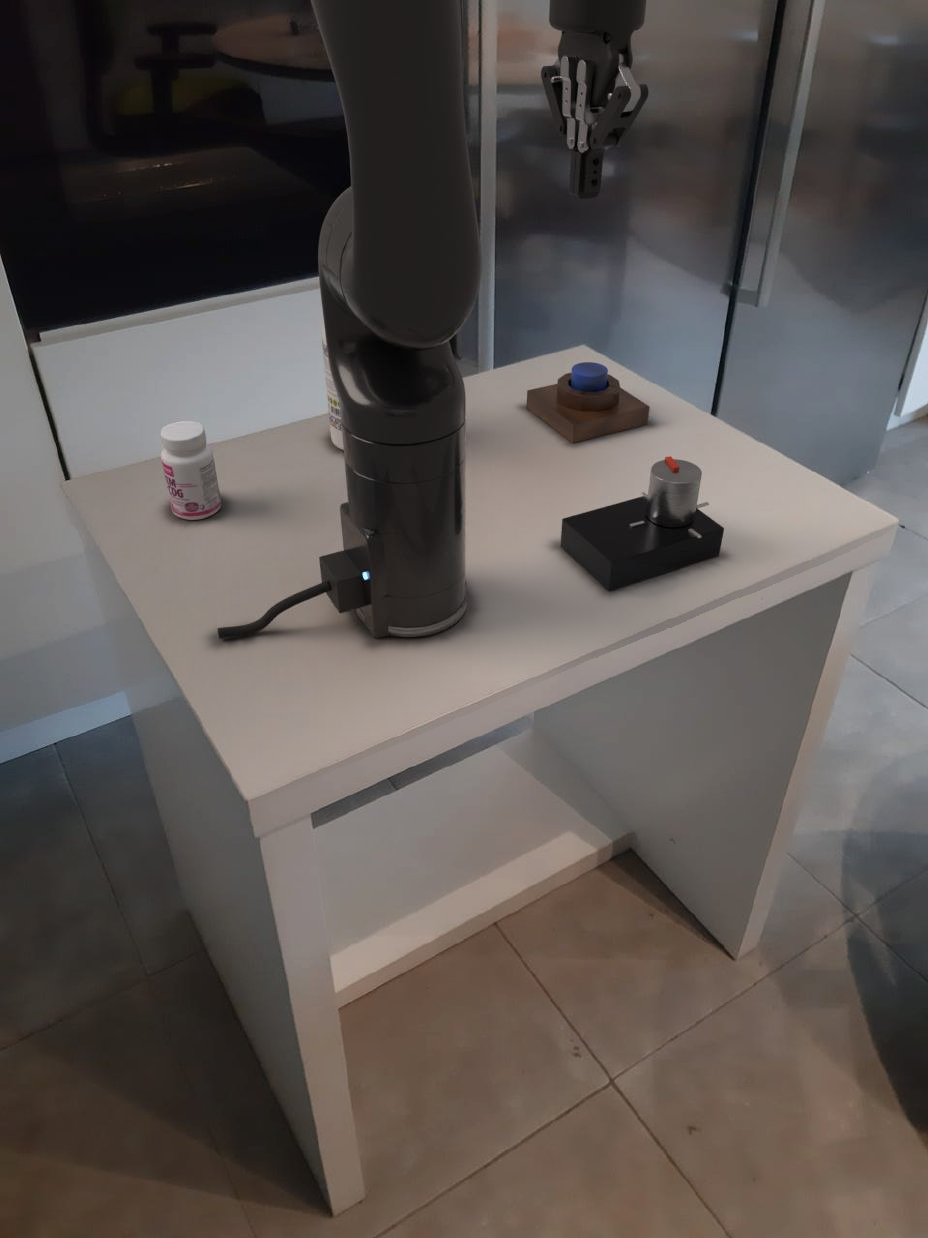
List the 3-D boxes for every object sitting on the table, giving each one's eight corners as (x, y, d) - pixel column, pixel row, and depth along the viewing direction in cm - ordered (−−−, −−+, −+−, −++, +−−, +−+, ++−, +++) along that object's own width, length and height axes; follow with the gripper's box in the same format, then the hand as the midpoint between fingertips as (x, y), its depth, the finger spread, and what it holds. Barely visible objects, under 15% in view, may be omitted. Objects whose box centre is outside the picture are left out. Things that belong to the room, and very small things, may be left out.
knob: (702, 524, 87) (710, 477, 85) (655, 530, 87) (662, 482, 84) (683, 500, 91) (691, 453, 88) (638, 505, 90) (644, 458, 87)
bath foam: (376, 460, 104) (365, 268, 91) (319, 448, 106) (300, 259, 94) (405, 432, 109) (398, 247, 97) (350, 421, 111) (336, 239, 99)
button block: (572, 443, 107) (574, 409, 104) (526, 407, 114) (527, 375, 111) (647, 424, 110) (651, 391, 108) (598, 391, 117) (601, 359, 115)
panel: (610, 593, 84) (614, 562, 82) (558, 544, 90) (560, 515, 89) (732, 554, 89) (738, 524, 87) (675, 510, 95) (679, 482, 93)
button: (583, 396, 108) (584, 378, 106) (563, 383, 111) (564, 365, 109) (613, 389, 109) (615, 372, 108) (593, 376, 112) (595, 359, 111)
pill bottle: (162, 516, 94) (145, 437, 89) (188, 493, 98) (173, 415, 93) (206, 524, 93) (191, 444, 88) (230, 500, 97) (217, 422, 92)
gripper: (515, -47, 78) (509, 184, 89) (608, -37, 69) (589, 220, 79) (594, -50, 81) (579, 175, 91) (694, -40, 72) (664, 209, 82)
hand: (584, 195), depth 85 cm, fingers closed
